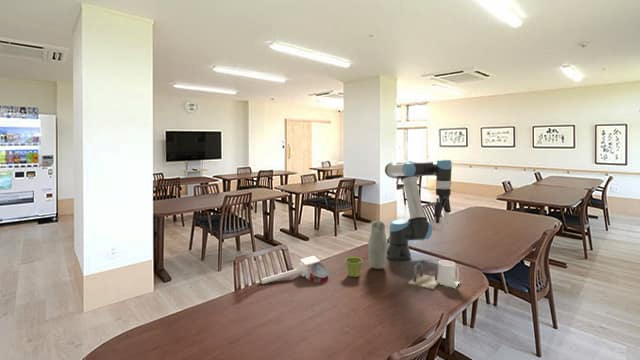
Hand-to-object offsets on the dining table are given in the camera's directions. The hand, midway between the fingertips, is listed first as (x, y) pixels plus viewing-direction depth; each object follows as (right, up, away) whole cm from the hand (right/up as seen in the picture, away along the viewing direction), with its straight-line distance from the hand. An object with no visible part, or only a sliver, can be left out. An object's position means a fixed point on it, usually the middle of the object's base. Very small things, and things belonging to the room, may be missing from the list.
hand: (442, 226), depth 186 cm
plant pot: (-49, -27, +1) cm, 56 cm away
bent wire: (-12, -27, -9) cm, 31 cm away
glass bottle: (-34, -26, +10) cm, 44 cm away
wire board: (-12, -28, -9) cm, 32 cm away
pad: (-1, -28, -12) cm, 31 cm away
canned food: (-68, -28, -4) cm, 74 cm away
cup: (-1, -28, -13) cm, 31 cm away
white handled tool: (-84, -29, -3) cm, 88 cm away
